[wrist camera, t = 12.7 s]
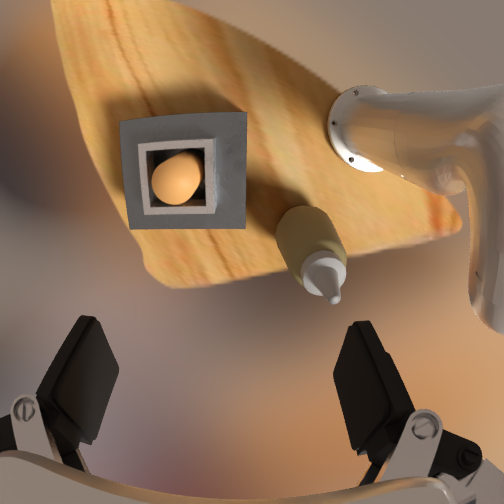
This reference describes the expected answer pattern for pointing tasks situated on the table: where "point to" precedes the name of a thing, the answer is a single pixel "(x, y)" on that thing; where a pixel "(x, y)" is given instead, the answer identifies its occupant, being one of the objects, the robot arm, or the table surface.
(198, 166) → the orange cylinder
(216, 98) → the table surface
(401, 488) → the robot arm
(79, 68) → the table surface
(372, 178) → the table surface
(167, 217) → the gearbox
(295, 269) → the squeeze bottle
